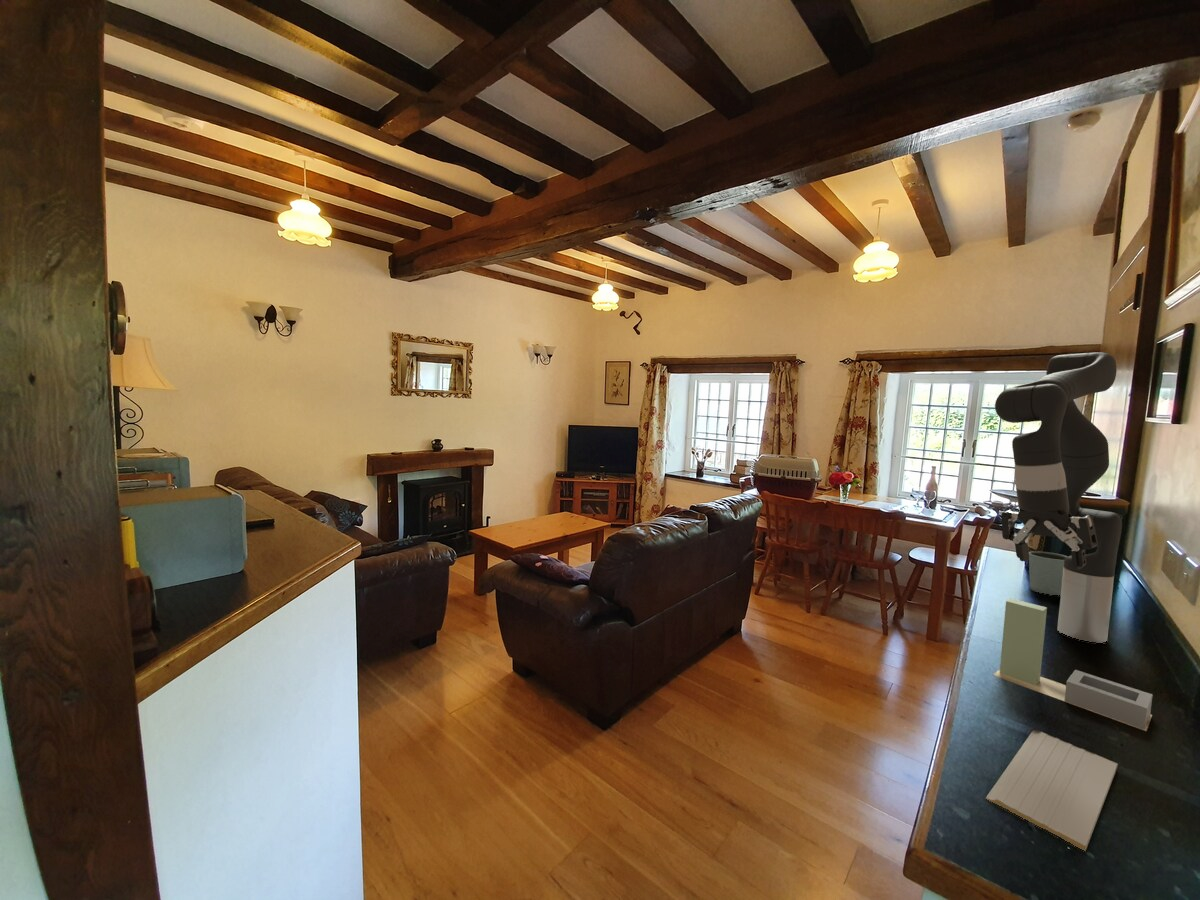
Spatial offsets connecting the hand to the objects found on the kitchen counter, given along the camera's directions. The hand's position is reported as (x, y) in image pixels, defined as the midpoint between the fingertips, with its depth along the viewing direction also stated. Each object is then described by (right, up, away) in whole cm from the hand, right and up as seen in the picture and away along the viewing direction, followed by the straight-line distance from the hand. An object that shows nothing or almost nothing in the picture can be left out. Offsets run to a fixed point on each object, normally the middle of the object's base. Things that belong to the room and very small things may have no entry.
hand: (1050, 564), depth 97 cm
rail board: (+3, -27, 0) cm, 27 cm away
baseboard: (-19, -29, -20) cm, 40 cm away
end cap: (+7, -27, -4) cm, 28 cm away
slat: (-1, -26, +6) cm, 26 cm away
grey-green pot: (+55, -23, +61) cm, 86 cm away
